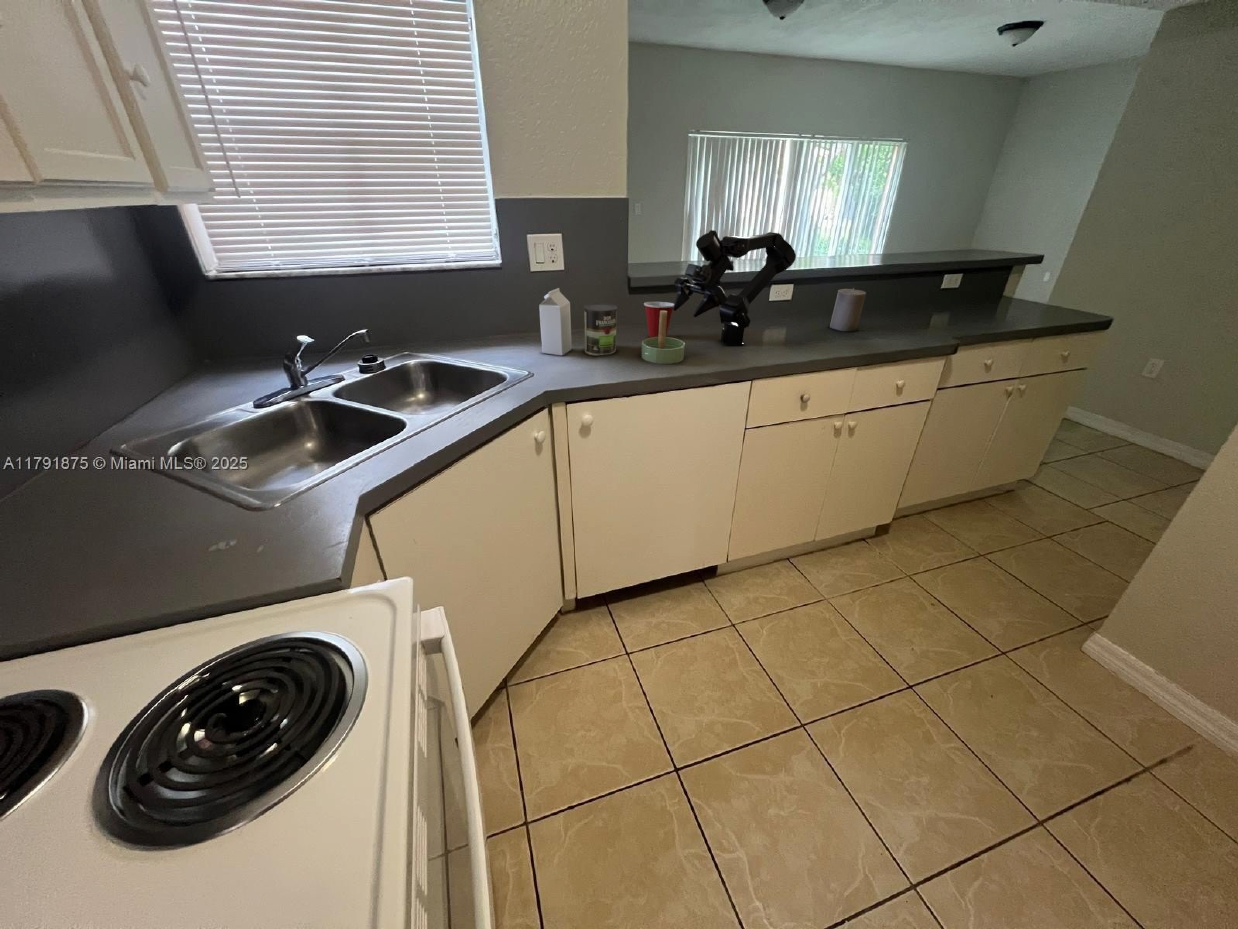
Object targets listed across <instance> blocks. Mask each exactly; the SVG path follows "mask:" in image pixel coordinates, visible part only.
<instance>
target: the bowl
mask: <svg viewBox="0 0 1238 929" xmlns="http://www.w3.org/2000/svg"><path fill="white" fill-rule="evenodd" d="M685 349H686V343H685V341H683V340H681V339H678V338H675V337H670V336H669V337H668V336H666V339H665V349H658V337H652V338H650V337H647V338H645V339H643V340H642V341H641V348H640V350H641V351H640V357H641V359H643V360H644V361H646V362H648V363H652V364H661V365H670V364H677V363H680V362H682V361H683V360H684V358H685V351H686V350H685Z"/></svg>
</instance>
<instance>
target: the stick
mask: <svg viewBox="0 0 1238 929" xmlns="http://www.w3.org/2000/svg"><path fill="white" fill-rule="evenodd" d="M666 324H667V311H664V310H663V311H660V319H659V336H658V349H665V339H666V337H667V335H666Z"/></svg>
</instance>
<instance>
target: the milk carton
mask: <svg viewBox="0 0 1238 929" xmlns="http://www.w3.org/2000/svg"><path fill="white" fill-rule="evenodd" d="M543 298H544V300H543V301H541V303H540V304H539V308H538V309H539V323H540V339H541V353H542V354H547V355H555V356H564V355H566V354H567V353H568V352H570V351H571V350H572V326H571V324H572V323H571V302H570V301H569V299H567V297H565V295H564V294H562V292H561V290H560V287H557V288H555V289H552V290H550V291H548V293H547V294H545V295H544V296H543Z"/></svg>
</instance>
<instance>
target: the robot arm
mask: <svg viewBox="0 0 1238 929" xmlns="http://www.w3.org/2000/svg"><path fill="white" fill-rule="evenodd" d="M695 246H696V248H697V250H698V251H699V253H700V254H701V256H702V258H703V260H704V261H705V262H708V264H702V265H699V264H694V263H688V264H687V266H686V269H685V271H684V275H685V276H688V277H690V280H689V279H688V278H687V277H681V276H680V277H677V278H676V279H675V280H674V282H673V284H674V286H675V288H676V292H677V293H676V297H675V300H674V303H673V304H674V307H673V312H676V311H677V310H678V309H680V308H681V307H682V306H683V305H684V304H685V303H686V302H688V301H689V300H690V299H691V298H690V297H691V296H693V294H694V293H696V294H700V295H701V296H703V297H702V300H701V302H700V303H699V304H698V305H697V308H696V309H695V311H694V313H693V314H692V316H693V317H694V318H698V316H700V315H702V314H704V313H707V312H708V311H710V310H712V309H715V308H719V319H720V323H721V324H724V325H723V327H722V329H721V336H720V341H721V342H722V344H723V345H725V346H744V345H745V343H744V342H743V341H744V335H745V329H747V328H749V327H750V324H751V319H750V317H749V315H748V314H749V310H750V305H751V303H753V301H754V300H755V299H757V297H758V296H759V295H760V293H761V292H762V291H763V290H764V289H765V288H766V287H767V285H768V284H769V283H770V282H771V281H772V280H773V279H774V278H775V276H777V275H778V274H780V273H781V274H782V273H783V272H786V271H787V270H789V269H790V267H792V265H793V264H794V263H795V261H796V259H797V258H796V257H797V254H796V250H795V249H794V248H793V246H792V245H791V244H790V243H789V242H788V241H787V240H786V239H784V236H783V235H782V234H781V233H779V232H771V231H769V232H766V233H760V234H755V235H750V236H743V237H741V236H733V235H725V236H723V237H722V239H720V237H719V236H718V232H717V231H716V230H714V229H710V230H709V231H708V232H707V233H704V234H702V235H701V236H700V237H698V239H697V240H696V242H695ZM762 249H765V254H766V257H765V264H764V265H763V267H762V268H761V269H760V270H759V271H758V272H757V273H756V274H755V275H754V277H753V278H752V279H751V280H750V281H749V282H748V283H747V284H746V285H745V286H744V288H743V289H742V290H741V291H740V292H739V293H738V294H737V295H736V294H732V293H730V294H729V295H728V296H727V294H726V292H725V291H724V289H723V288H722V286H720V285H721V283H722V281H721V279H722V277H723V276H724V275H725V273H726V272H727V271H730V272H733V271H734V269H735V267H734V261H733V260H731V259H730V258H735V259H740V258H742V257H744V256H747V255H748V253H750V252H752V251H756V250H757V251H758V250H762ZM690 281H691V282H692V283H693V284H692V283H691V282H690Z"/></svg>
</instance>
